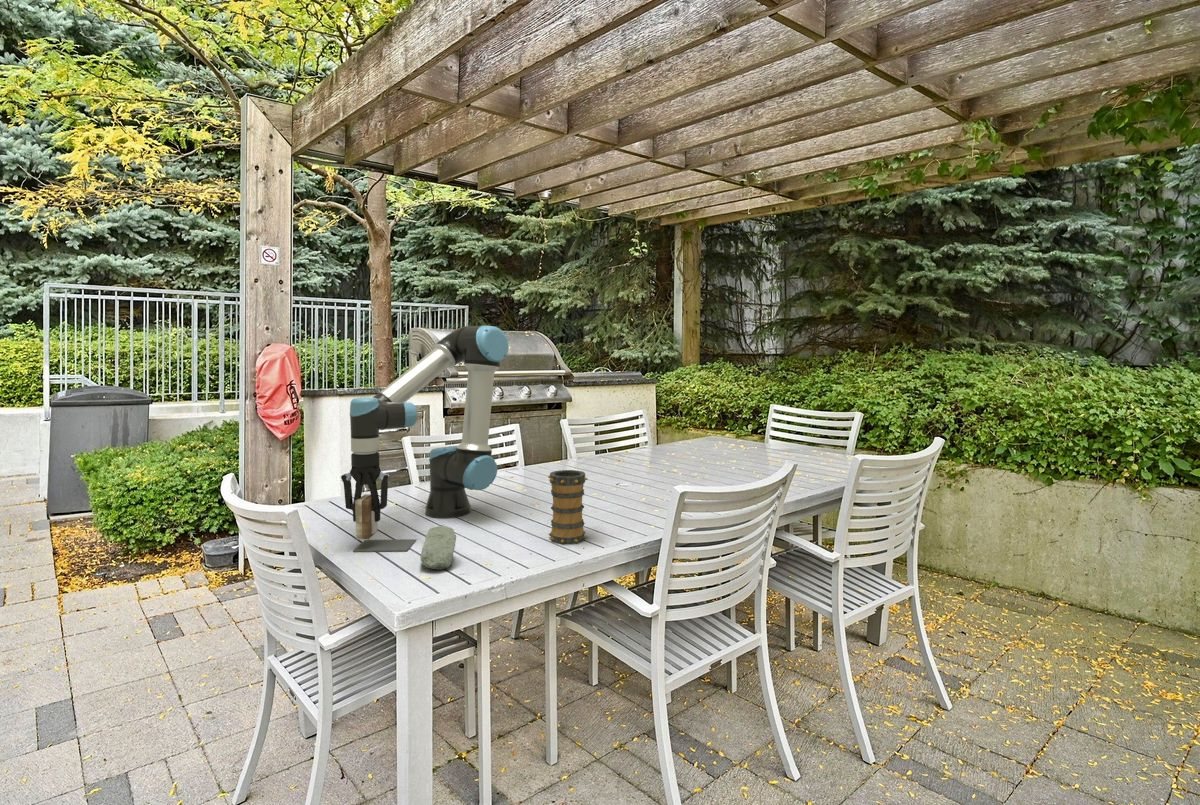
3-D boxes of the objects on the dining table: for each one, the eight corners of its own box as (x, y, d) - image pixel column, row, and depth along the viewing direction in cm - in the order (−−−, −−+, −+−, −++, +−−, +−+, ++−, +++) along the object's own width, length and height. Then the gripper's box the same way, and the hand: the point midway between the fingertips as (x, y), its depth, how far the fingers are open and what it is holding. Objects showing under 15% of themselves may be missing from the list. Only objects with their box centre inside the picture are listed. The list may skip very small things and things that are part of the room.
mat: (416, 540, 186) (416, 539, 186) (407, 551, 176) (407, 550, 176) (365, 541, 185) (365, 539, 185) (353, 552, 175) (353, 550, 175)
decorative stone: (432, 553, 174) (414, 530, 169) (467, 540, 173) (450, 517, 168) (427, 590, 164) (408, 568, 158) (465, 577, 163) (447, 554, 157)
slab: (377, 531, 184) (376, 494, 183) (368, 539, 176) (367, 500, 175) (365, 531, 184) (364, 494, 183) (356, 539, 176) (355, 500, 175)
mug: (540, 543, 183) (540, 476, 181) (557, 527, 200) (557, 465, 198) (582, 547, 180) (582, 479, 178) (596, 530, 197) (597, 467, 195)
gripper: (398, 450, 182) (399, 528, 184) (340, 449, 181) (342, 528, 183) (390, 454, 174) (392, 536, 176) (330, 454, 174) (332, 536, 176)
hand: (367, 532), depth 180 cm, fingers closed on slab, 3 cm apart
